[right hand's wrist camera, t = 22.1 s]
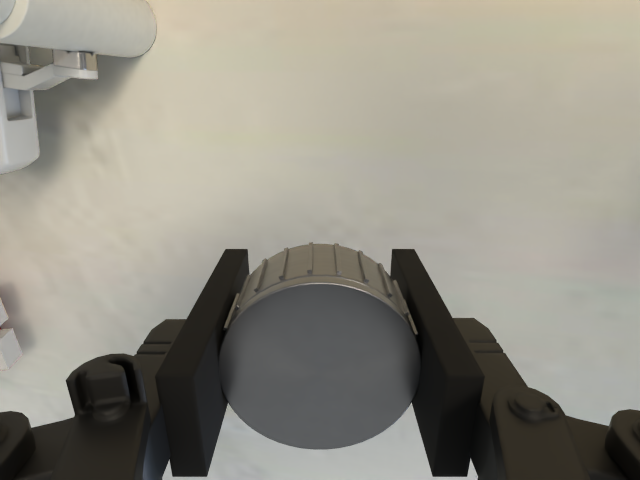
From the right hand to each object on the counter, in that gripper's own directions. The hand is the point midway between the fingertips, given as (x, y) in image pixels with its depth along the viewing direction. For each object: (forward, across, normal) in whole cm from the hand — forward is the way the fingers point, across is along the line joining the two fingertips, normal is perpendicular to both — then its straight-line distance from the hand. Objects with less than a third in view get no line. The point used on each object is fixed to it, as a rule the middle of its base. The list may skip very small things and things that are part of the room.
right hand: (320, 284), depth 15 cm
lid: (-4, 0, 0) cm, 4 cm away
